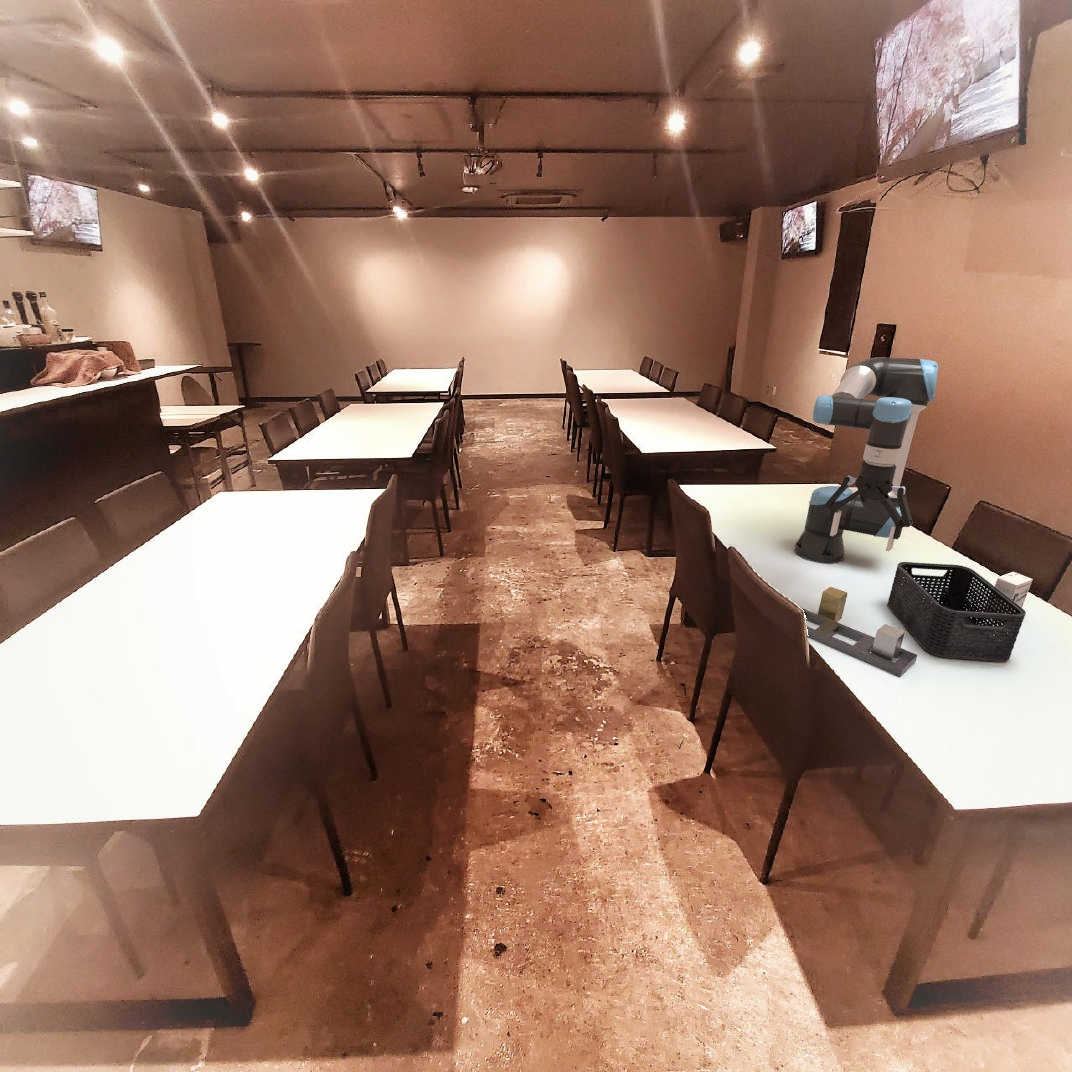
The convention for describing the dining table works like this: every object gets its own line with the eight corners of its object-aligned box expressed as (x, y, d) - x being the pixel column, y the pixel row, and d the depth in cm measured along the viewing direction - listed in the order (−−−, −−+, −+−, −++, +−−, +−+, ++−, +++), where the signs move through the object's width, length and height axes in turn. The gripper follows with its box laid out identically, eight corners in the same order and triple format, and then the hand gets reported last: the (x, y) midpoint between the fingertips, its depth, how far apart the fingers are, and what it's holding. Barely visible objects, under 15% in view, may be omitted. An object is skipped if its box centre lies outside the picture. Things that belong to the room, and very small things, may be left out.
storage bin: (882, 601, 170) (893, 559, 165) (954, 606, 167) (968, 564, 162) (929, 658, 144) (944, 610, 139) (1015, 665, 141) (1034, 616, 136)
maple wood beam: (816, 617, 161) (822, 591, 158) (824, 612, 164) (830, 586, 161) (833, 624, 158) (839, 598, 155) (841, 618, 161) (847, 592, 157)
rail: (779, 624, 158) (780, 617, 157) (796, 612, 163) (798, 606, 162) (900, 676, 136) (902, 669, 136) (915, 661, 142) (917, 654, 141)
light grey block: (869, 658, 143) (877, 630, 140) (877, 651, 146) (885, 623, 143) (889, 666, 140) (897, 638, 137) (897, 659, 143) (905, 631, 140)
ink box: (1002, 623, 158) (1017, 585, 154) (983, 615, 162) (996, 577, 158) (1020, 616, 162) (1034, 578, 158) (1000, 608, 166) (1013, 571, 162)
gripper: (821, 455, 150) (806, 532, 158) (933, 476, 134) (909, 560, 142) (833, 450, 155) (817, 525, 163) (942, 470, 139) (918, 552, 147)
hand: (860, 542), depth 153 cm, fingers open, 13 cm apart
